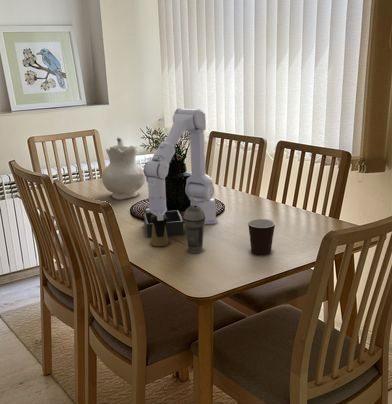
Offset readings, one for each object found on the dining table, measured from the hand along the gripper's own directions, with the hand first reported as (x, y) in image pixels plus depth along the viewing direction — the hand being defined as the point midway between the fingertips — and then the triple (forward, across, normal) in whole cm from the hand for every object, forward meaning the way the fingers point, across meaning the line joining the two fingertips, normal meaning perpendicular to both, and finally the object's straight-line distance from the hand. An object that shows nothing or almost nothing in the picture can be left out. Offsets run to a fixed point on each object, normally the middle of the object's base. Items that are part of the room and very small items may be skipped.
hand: (159, 233), depth 189 cm
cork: (+4, 0, 0) cm, 4 cm away
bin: (+4, -14, +3) cm, 15 cm away
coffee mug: (+4, +14, +33) cm, 36 cm away
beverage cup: (+4, +9, +11) cm, 15 cm away
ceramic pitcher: (+4, -65, -9) cm, 66 cm away
